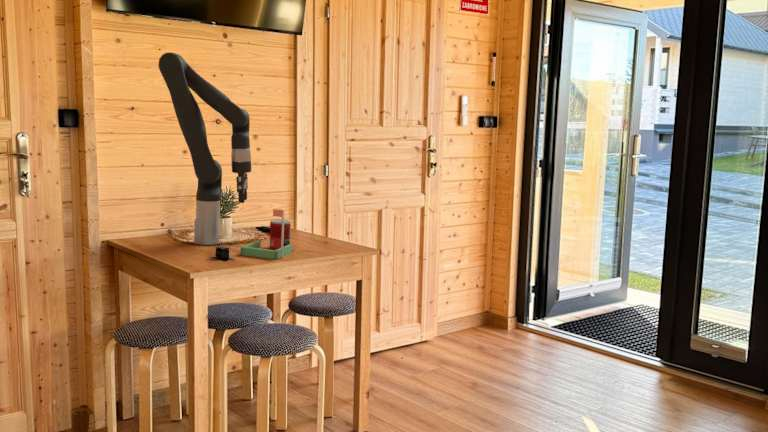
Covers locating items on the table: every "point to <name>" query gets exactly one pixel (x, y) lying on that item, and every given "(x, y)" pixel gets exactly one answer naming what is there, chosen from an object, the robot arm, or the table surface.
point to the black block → (220, 252)
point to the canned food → (279, 233)
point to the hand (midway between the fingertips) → (242, 201)
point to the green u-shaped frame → (256, 250)
